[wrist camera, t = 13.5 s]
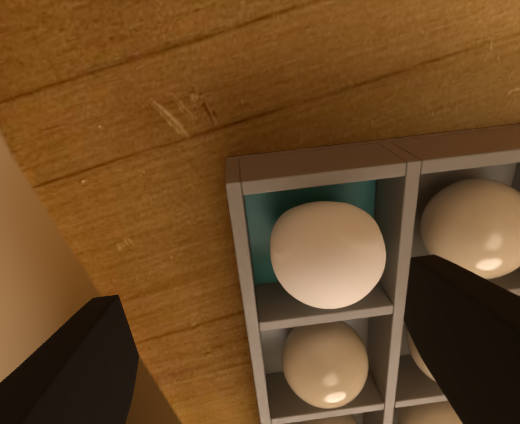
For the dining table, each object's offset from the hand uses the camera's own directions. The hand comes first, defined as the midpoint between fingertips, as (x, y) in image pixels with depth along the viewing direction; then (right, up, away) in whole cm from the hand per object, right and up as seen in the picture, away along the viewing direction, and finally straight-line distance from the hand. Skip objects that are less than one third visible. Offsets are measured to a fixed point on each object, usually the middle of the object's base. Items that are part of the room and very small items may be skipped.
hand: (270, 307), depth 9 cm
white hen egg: (+2, +2, +9) cm, 10 cm away
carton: (+7, -4, +13) cm, 15 cm away
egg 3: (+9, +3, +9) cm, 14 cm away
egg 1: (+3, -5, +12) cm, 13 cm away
